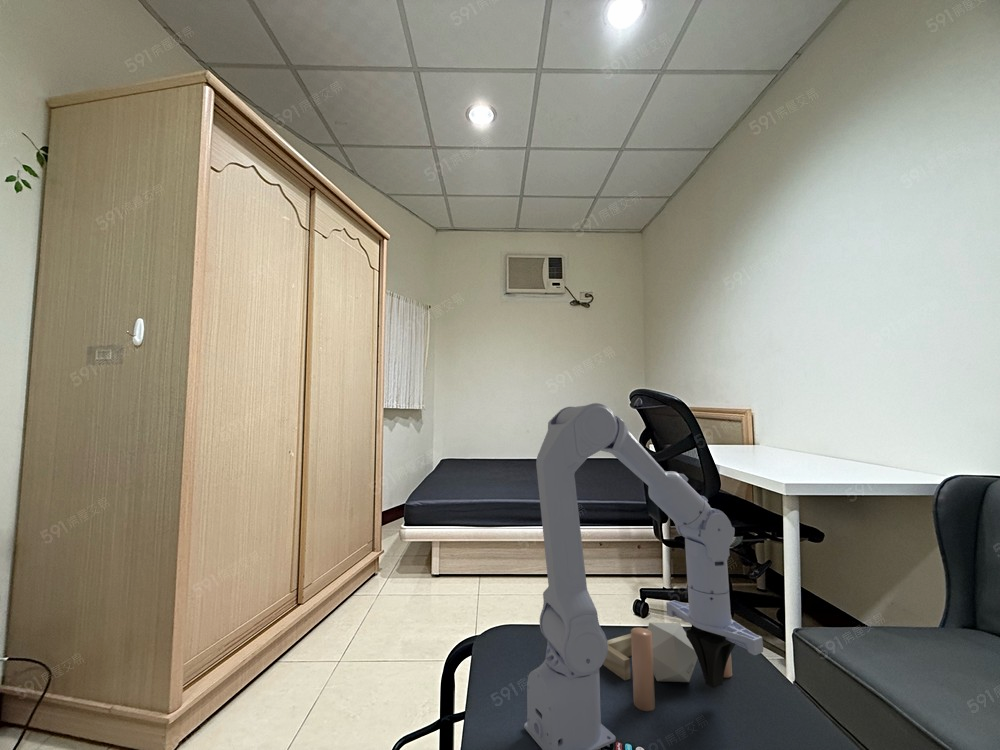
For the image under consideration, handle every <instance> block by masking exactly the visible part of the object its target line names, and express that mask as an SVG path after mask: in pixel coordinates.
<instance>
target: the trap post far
mask: <svg viewBox="0 0 1000 750" xmlns="http://www.w3.org/2000/svg"><path fill="white" fill-rule="evenodd" d="M732 665H733V664H732V652H731V653H730V656H729V658H728V661H727V664H726V667H725V671H724V677H723V678H725V679H726V678H728V679H729V678H731V677H732V676H733V666H732Z"/></svg>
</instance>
